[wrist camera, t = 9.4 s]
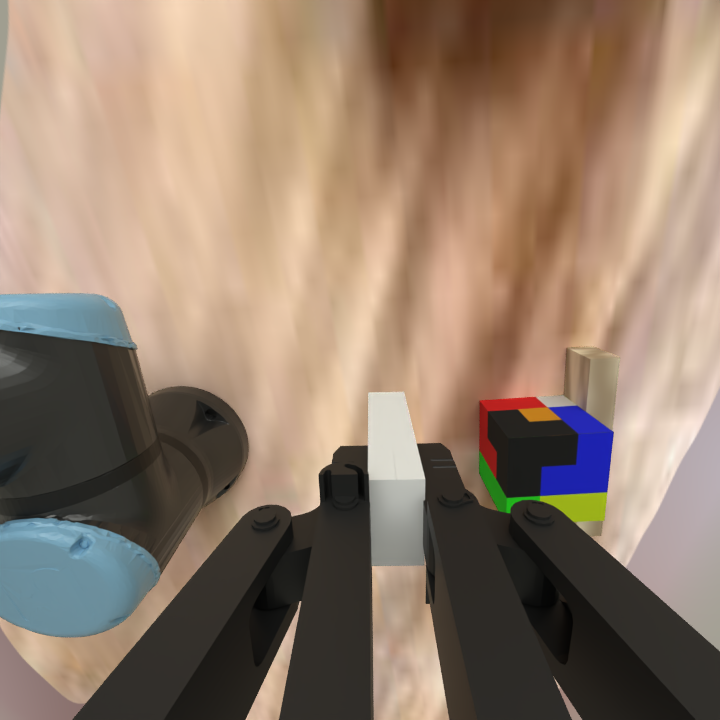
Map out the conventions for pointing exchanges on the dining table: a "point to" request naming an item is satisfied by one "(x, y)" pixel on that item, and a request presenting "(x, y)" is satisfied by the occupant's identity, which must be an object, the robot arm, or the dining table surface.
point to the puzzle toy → (545, 455)
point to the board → (592, 393)
